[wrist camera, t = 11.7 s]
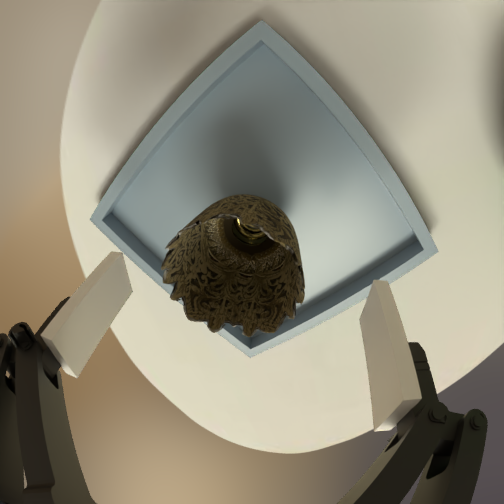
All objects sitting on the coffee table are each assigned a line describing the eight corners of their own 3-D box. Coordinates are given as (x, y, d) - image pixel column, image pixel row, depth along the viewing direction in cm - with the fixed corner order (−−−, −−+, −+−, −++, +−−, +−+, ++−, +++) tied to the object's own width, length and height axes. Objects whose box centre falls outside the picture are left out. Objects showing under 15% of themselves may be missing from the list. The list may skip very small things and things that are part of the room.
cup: (312, 176, 18) (318, 234, 11) (299, 265, 22) (293, 346, 15) (204, 165, 19) (150, 214, 12) (207, 253, 23) (170, 324, 16)
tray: (265, 27, 14) (261, 19, 12) (429, 238, 20) (438, 251, 18) (102, 209, 23) (89, 219, 21) (252, 343, 29) (250, 357, 27)
